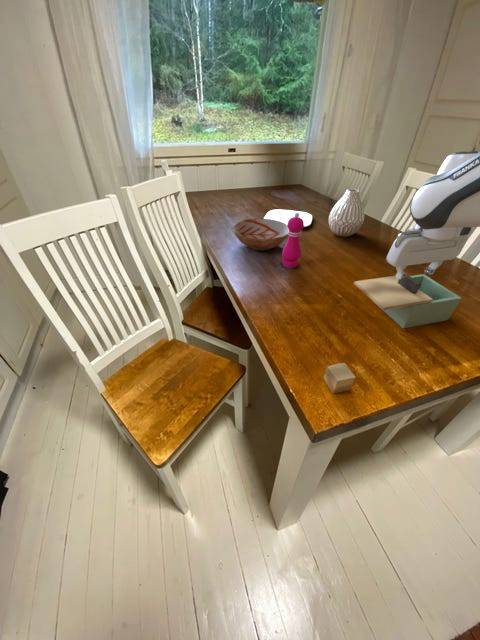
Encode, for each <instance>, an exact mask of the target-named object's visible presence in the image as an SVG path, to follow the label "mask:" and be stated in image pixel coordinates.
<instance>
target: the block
mask: <svg viewBox="0 0 480 640" xmlns="http://www.w3.org/2000/svg"><path fill="white" fill-rule="evenodd" d="M323 380H324V382H325V383H326V385H327V386H328V388H329V390H330V391H331V393H332V394H333V395H334V394H338V393H342V392H346V391H350V390H351V389H352V387H353V385H354V382H355V380H356V375H354V373H353V372H352V370H351V369H350V367H349V366H348V365H347V363H345V362H341V363H335V364H332V365H327V366H326V369H325V373H324V375H323Z"/></svg>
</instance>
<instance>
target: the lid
mask: <svg viewBox="0 0 480 640" xmlns="http://www.w3.org/2000/svg"><path fill="white" fill-rule="evenodd" d="M410 276H411V275H409V274H408V273H406V276H405V278H404V279H397V278H396V275H392V276H391V275H390V276H384V277H376V278H370V279H361V280H356V281H353V285H354V286H356V288H358V289H359V290H360V291H361V292H362V293H363V294H365V295H366V296H367V297H368V298H369V299H370V300H371V301H372V302H373V301H374V302H375V303H376V304H377V305H378V306H379V307H378V306H377V305H376V304H375V303H374V302H373V303H374V304H375V305H376V306H377V307H378V308H379V309H381V308H382V309H383V310H386V309H392V308H398V307H403V306H409V305H415V304H421V303H427V302H432V301H433V299H432V298H430V297H429V296H428V295H426V294H425V293H423V292H422V291H420V290H419V287H420V285H421V283H419V282H418V281H416V280H415V279H413V278H412V277H410ZM382 309H381V310H382ZM383 310H382V311H383Z"/></svg>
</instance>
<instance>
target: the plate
mask: <svg viewBox="0 0 480 640" xmlns="http://www.w3.org/2000/svg"><path fill="white" fill-rule="evenodd" d="M295 213H299V217H300V218H302V219H303V221H304V227H303V228H307V227H309V226H310V225H311V224H312V221H313V215H312V214H310V213H309V212H306V211H298V210H291V209H272V210H269V211H268V212H267V213H266V214H265V216H264V217H263V218H264V219H272V220H277V221H280V222H283V223H285V224H287V223H288V220H289V219H290V218H292V217H294V214H295Z"/></svg>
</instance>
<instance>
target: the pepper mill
mask: <svg viewBox="0 0 480 640" xmlns="http://www.w3.org/2000/svg"><path fill="white" fill-rule="evenodd" d="M287 227H288V229H289V230H288V233H287V234H288V236H287V237H288V238H287V241H286V244H285V245H284V247H283V249H282V252H281V255H282V257H283V258H282V263H281V264H282V265H283V266H284V267H286V268H296V267H298V266H299V261H300V260H299V259H300V258H301V256H302V249H301V246H300V245H301V244H300V237H301V236H302V230H303V229H304V228H305V227H304V221H303V219H302V218H300V217H299V213H295V214H294V217H292V218H290V219H289V220H288V223H287Z"/></svg>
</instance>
